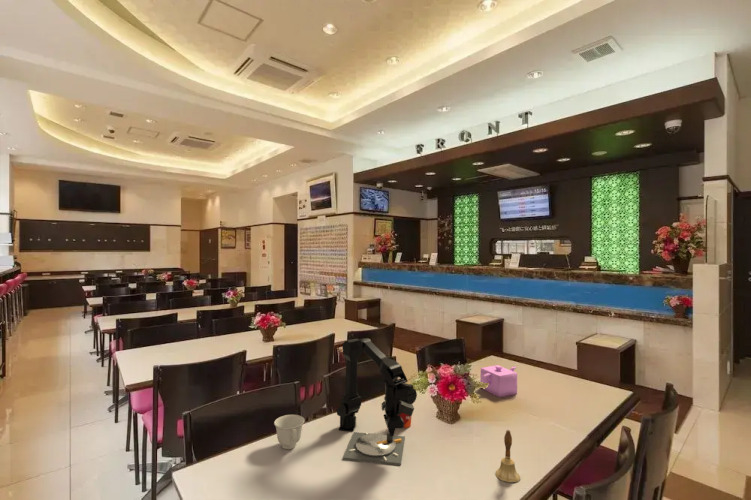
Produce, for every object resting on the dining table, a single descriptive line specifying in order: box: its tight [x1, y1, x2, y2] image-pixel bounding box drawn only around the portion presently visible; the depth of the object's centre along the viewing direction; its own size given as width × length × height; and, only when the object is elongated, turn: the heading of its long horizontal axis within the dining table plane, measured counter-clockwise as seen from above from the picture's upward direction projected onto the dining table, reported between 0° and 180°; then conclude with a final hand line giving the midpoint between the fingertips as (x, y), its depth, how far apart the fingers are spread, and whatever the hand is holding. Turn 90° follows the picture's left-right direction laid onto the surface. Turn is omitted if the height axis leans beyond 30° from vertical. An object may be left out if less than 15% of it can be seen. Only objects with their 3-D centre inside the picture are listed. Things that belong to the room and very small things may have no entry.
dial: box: [356, 431, 396, 457], centre depth 151 cm, size 16×16×4 cm
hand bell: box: [495, 429, 521, 483], centre depth 133 cm, size 8×8×16 cm
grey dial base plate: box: [342, 431, 406, 466], centre depth 151 cm, size 22×20×2 cm
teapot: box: [479, 364, 518, 398], centre depth 214 cm, size 15×25×14 cm, turn 116°
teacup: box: [273, 414, 305, 450], centre depth 151 cm, size 12×15×10 cm
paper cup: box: [399, 412, 412, 429], centre depth 171 cm, size 8×8×14 cm
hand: (391, 435), depth 148 cm, fingers closed
